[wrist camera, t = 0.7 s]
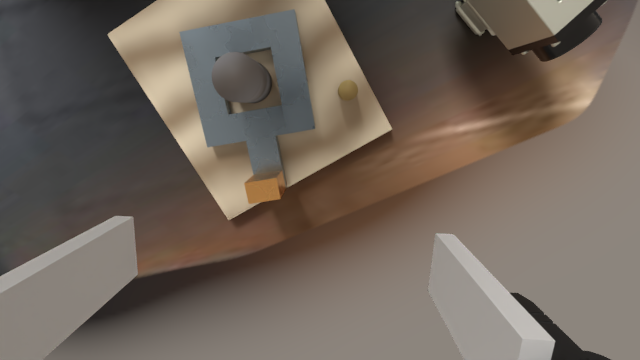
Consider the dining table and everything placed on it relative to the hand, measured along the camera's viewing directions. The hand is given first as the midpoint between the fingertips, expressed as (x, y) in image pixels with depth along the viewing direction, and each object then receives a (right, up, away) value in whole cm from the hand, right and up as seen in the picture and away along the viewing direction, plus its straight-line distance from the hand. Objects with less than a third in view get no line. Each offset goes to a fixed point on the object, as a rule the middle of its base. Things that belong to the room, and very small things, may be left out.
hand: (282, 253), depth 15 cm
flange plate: (-5, +10, +19) cm, 22 cm away
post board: (-5, +13, +20) cm, 25 cm away
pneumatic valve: (+17, +20, +18) cm, 32 cm away
